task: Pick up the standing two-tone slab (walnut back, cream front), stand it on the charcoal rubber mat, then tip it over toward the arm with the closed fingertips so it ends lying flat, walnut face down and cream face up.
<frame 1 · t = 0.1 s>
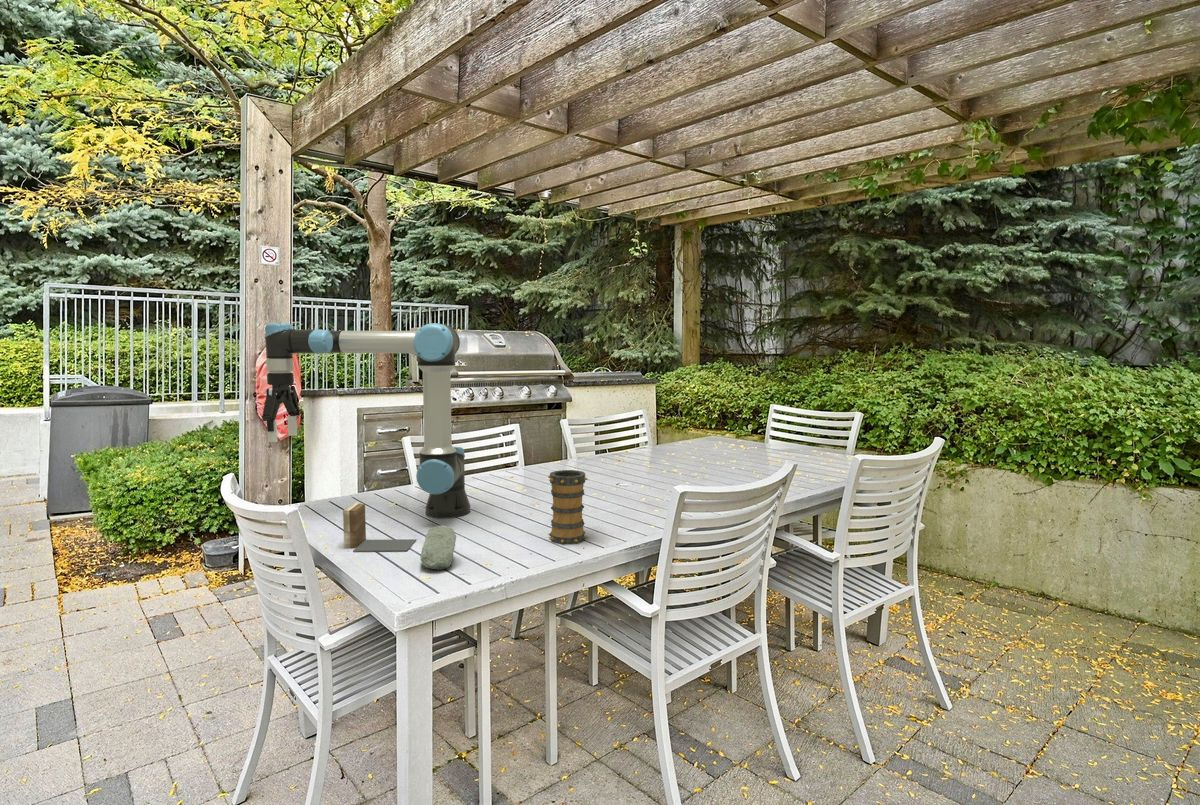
hand: (283, 438, 199), 28 cm above the table, fingers open, 13 cm apart
mat: (385, 546, 180), on the table
mug: (569, 537, 190), on the table
slab: (355, 543, 183), on the table
decorative stone: (438, 565, 166), on the table
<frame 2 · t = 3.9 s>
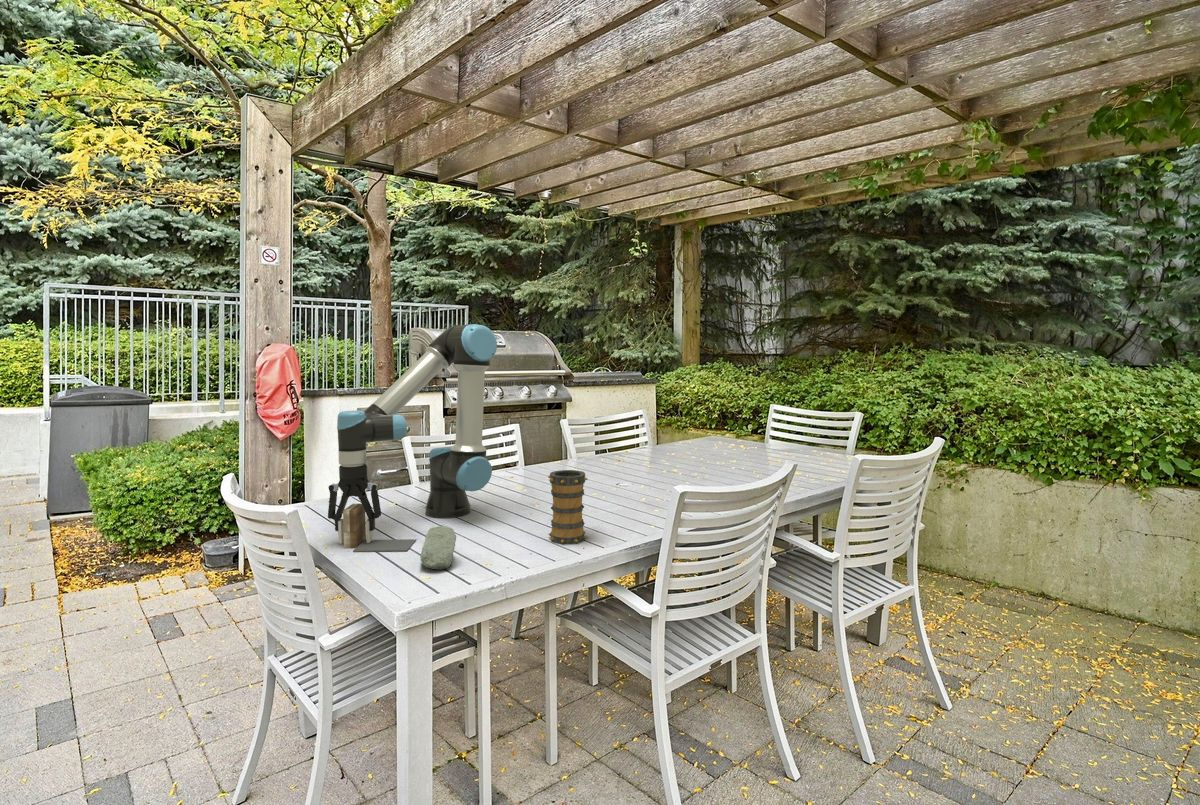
hand: (355, 541, 182), 1 cm above the table, fingers open, 7 cm apart
nothing on the table moved.
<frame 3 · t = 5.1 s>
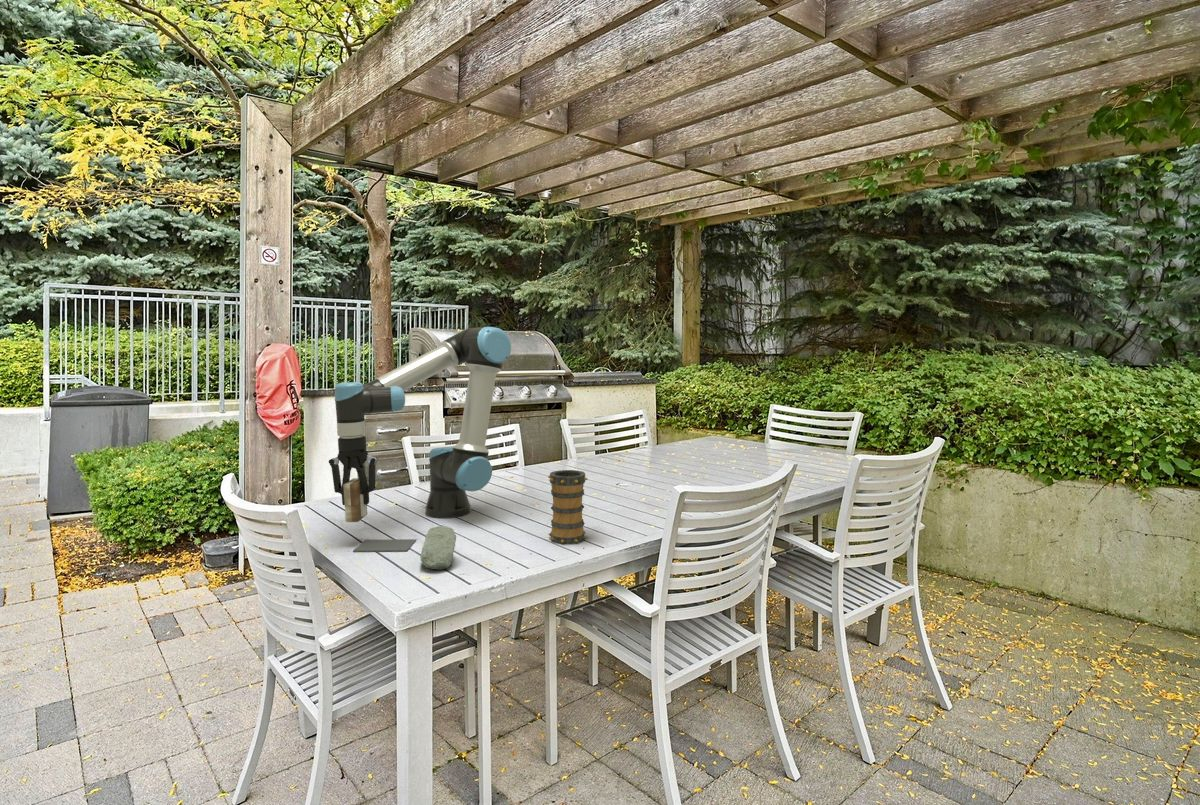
hand: (356, 515, 182), 8 cm above the table, fingers closed on slab, 3 cm apart
slab: (356, 518, 182), point 8 cm above the table, touching gripper
everything else where it was.
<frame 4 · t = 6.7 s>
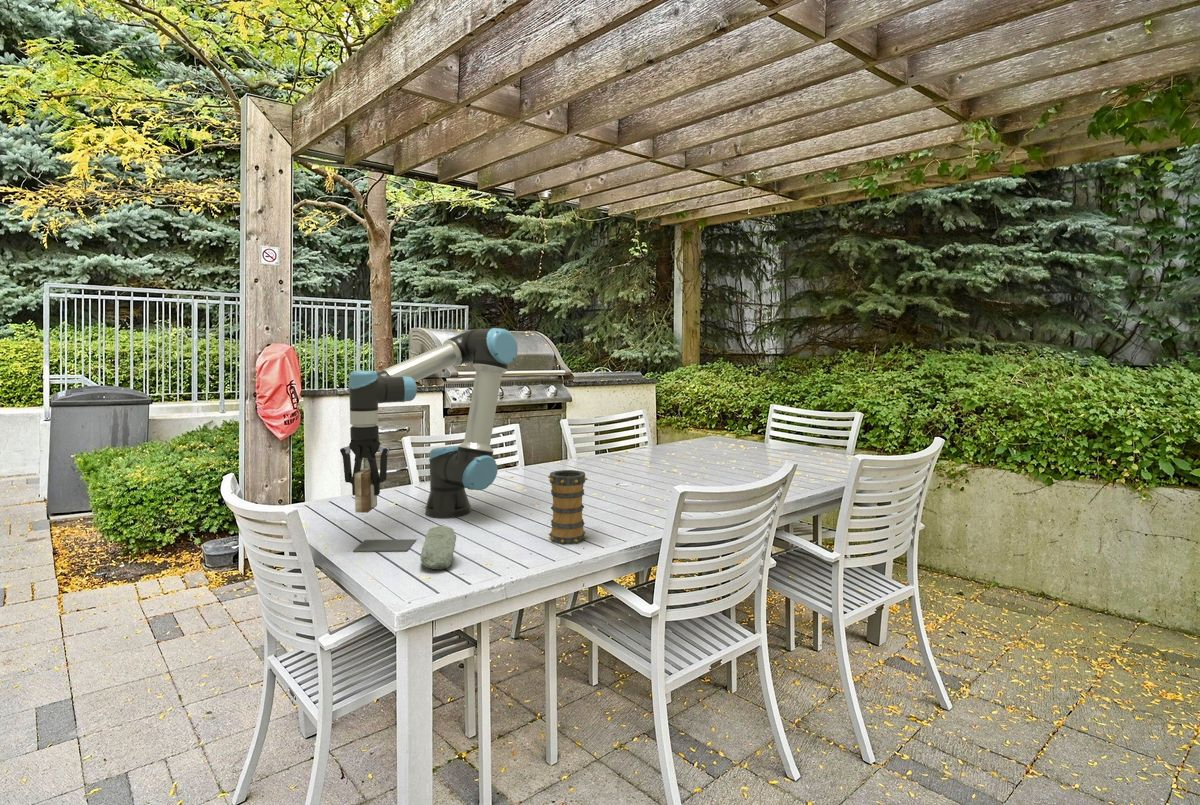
hand: (366, 506, 179), 12 cm above the table, fingers closed on slab, 3 cm apart
slab: (366, 508, 179), point 11 cm above the table, touching gripper
everything else where it was.
when the fingers open (1 cm above the table, at t = 8.7 s): slab stays where it is, resting on mat.
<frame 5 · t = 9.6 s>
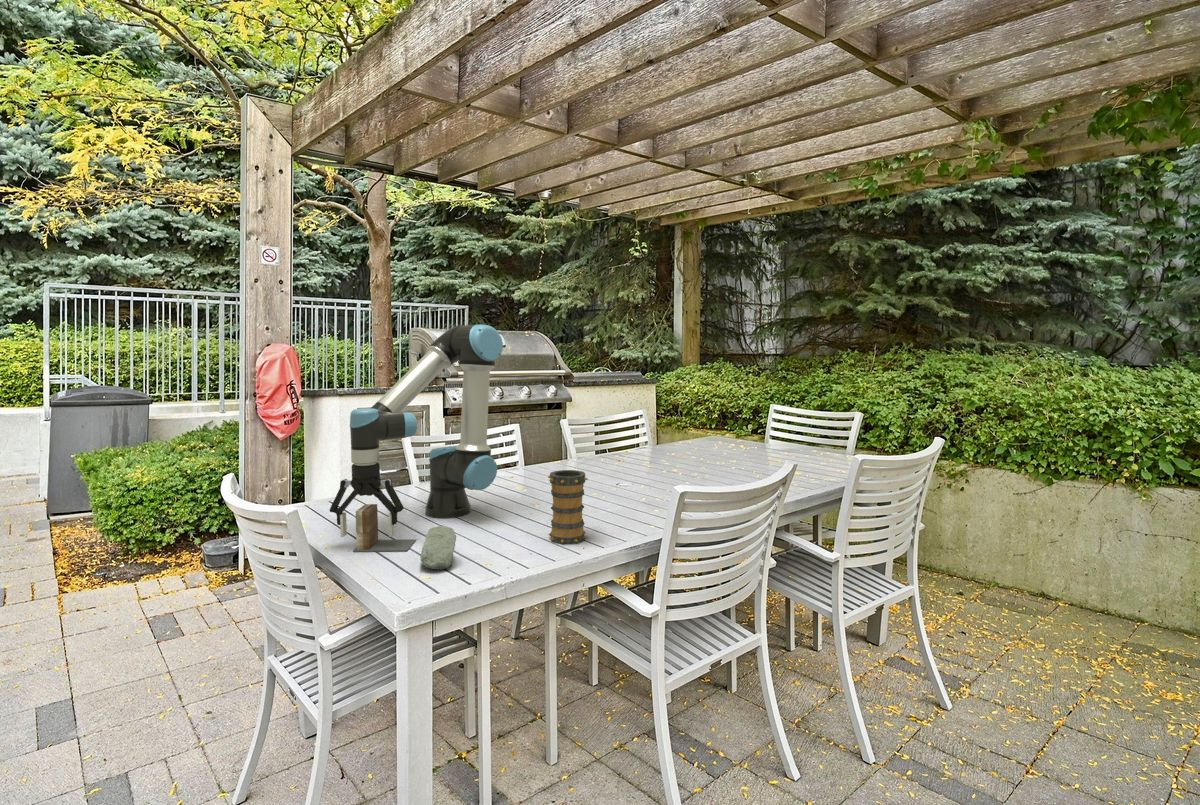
hand: (367, 535, 180), 3 cm above the table, fingers open, 13 cm apart
slab: (367, 545, 180), resting on mat
everything else where it was.
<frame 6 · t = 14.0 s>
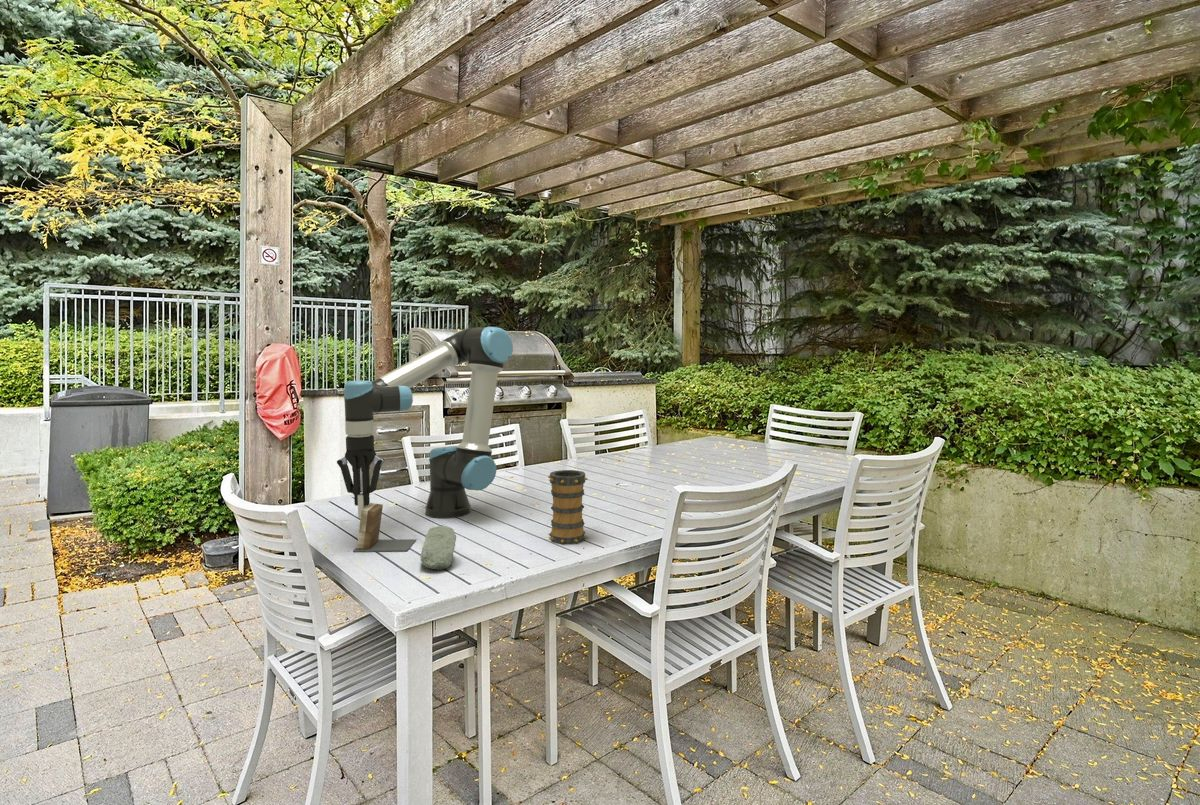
hand: (362, 516, 179), 9 cm above the table, fingers closed
slab: (367, 544, 180), point 1 cm above the table, tilted 8°, touching mat
everything else where it was.
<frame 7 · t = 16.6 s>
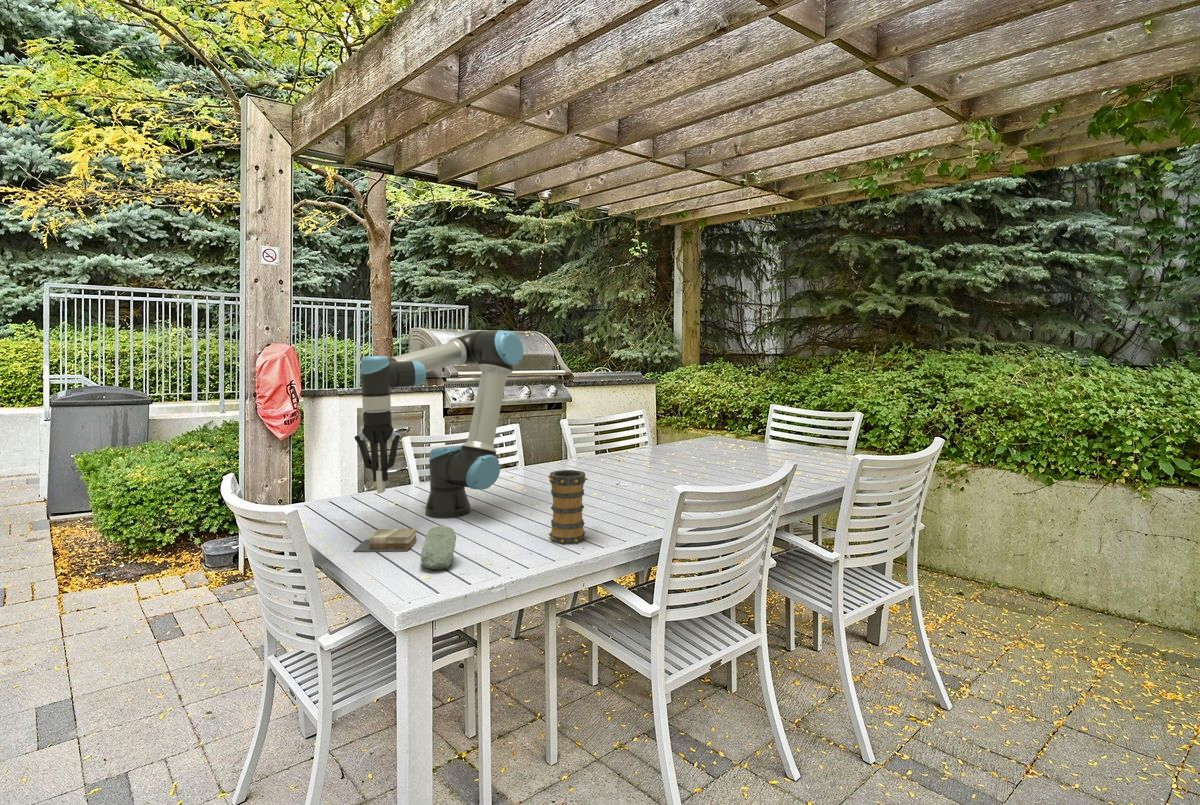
hand: (381, 492, 179), 16 cm above the table, fingers closed
slab: (374, 539, 180), point 2 cm above the table, tilted 90°, touching mat
everything else where it was.
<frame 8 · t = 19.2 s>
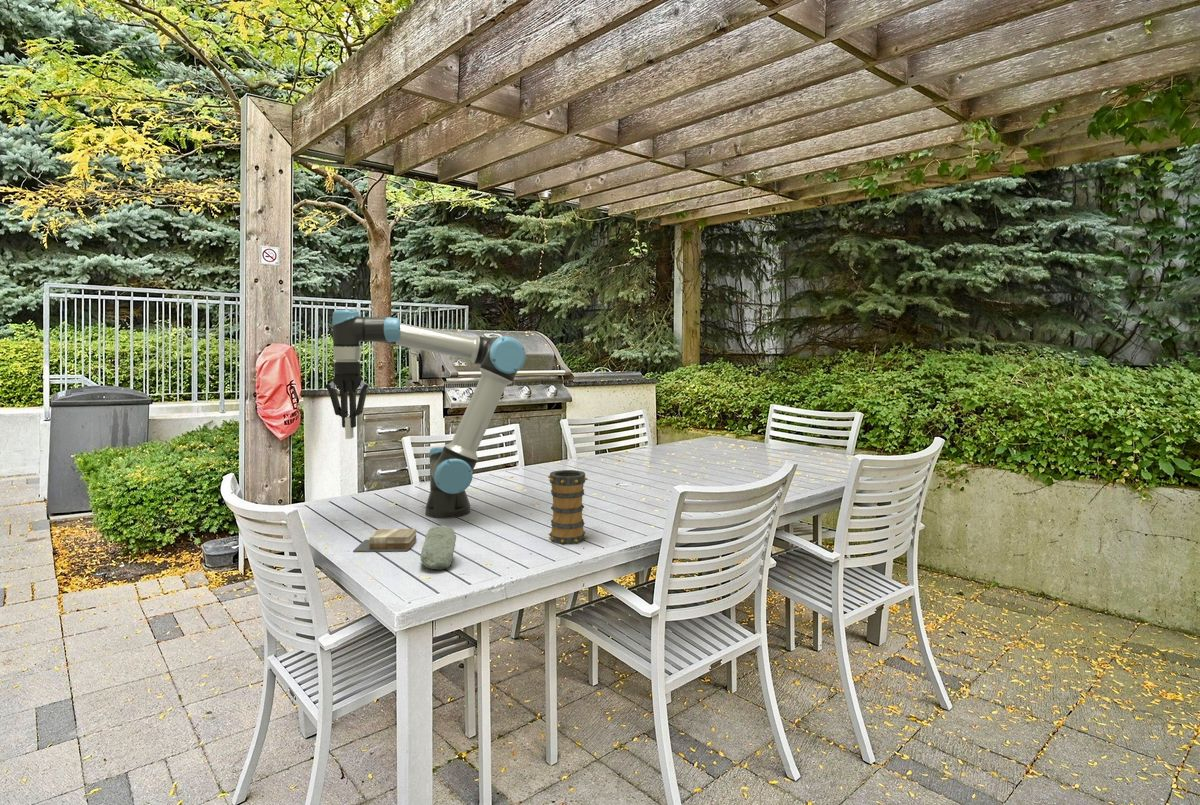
hand: (349, 438, 192), 29 cm above the table, fingers closed
nothing on the table moved.
at the end: slab tilted 90°; slab inside the target area (2.2 cm from its centre), point 2.1 cm above the table; the gripper is holding nothing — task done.
